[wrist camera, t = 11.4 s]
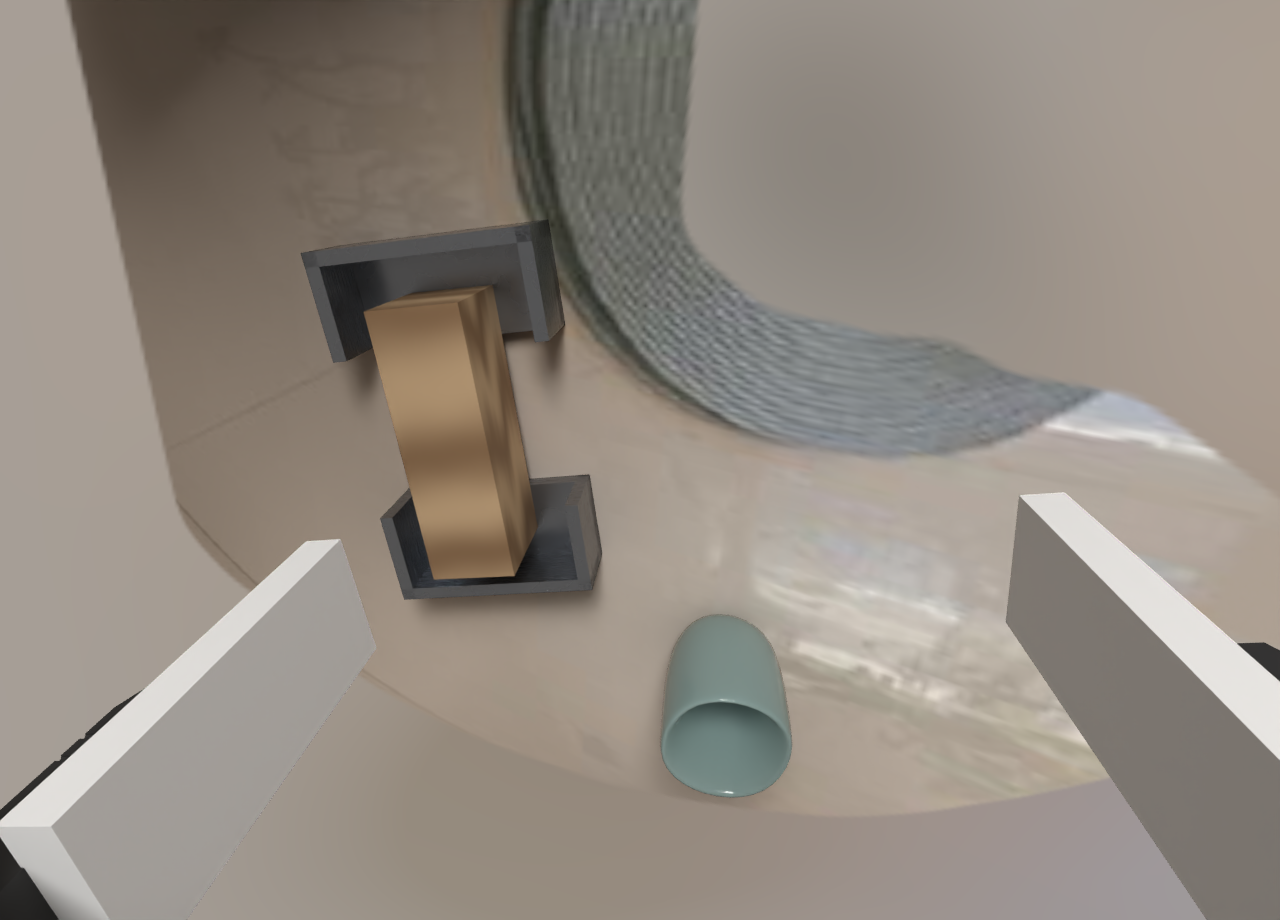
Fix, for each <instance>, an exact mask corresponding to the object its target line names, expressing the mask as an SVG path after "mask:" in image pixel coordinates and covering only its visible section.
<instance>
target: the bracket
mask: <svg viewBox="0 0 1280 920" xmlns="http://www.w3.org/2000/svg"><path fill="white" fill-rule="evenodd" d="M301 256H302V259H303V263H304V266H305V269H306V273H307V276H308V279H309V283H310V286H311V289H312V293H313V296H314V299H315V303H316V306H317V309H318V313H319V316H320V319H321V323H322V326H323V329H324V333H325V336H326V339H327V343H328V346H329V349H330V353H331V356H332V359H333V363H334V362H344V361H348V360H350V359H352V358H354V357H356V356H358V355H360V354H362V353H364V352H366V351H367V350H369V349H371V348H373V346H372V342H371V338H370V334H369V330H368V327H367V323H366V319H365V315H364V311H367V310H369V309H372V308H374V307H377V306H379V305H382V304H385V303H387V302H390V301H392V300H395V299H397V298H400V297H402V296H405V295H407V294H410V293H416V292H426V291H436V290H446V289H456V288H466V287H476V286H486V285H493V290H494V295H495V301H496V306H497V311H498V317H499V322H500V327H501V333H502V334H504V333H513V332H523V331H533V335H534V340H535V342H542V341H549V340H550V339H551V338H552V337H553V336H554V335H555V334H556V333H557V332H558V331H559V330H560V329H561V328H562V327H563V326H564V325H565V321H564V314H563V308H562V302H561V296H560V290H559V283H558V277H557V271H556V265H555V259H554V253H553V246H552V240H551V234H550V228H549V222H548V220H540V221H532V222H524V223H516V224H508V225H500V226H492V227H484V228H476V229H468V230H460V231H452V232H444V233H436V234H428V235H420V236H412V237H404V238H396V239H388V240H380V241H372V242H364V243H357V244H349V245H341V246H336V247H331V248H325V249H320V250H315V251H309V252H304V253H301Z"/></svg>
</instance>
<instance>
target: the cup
mask: <svg viewBox="0 0 1280 920" xmlns="http://www.w3.org/2000/svg"><path fill="white" fill-rule="evenodd" d="M660 747H661V753H662V758H663V761H664V763H665V765H666V767H667V769H668V770H669V771H670V772H671V773H672V775H673V776H674V777H675V778H676V779H678V780H679V781H680V782H682V783H683V784H685V785H687V786H689V787H690V788H692V789H694V790H697V791H700V792H703V793H705V794H710V795H714V796H720V797H744V796H749V795H754V794H756V793H758V792H761V791H763V790H765V789H766V788H768V787H769V786H771V785H772V784H773V783H774V782H775V781H776V780H777V779H778V778H779V777H780V776H781V775H782V773H783V772H784V770H785V769H786V767H787V765H788V762H789V760H790V756H791V750H792V735H791V725H790V717H789V711H788V704H787V698H786V692H785V687H784V682H783V677H782V673H781V669H780V666H779V663H778V660H777V657H776V655H775V652H774V650H773V647H772V645H771V643H770V642H769V641H768V639H767V638H766V637H765V635H764V634H763V633H762V632H761V631H760V630H759V629H758V628H757V627H755V626H754V625H753V624H751V623H749V622H747V621H746V620H743V619H741V618H738V617H734V616H730V615H722V614H717V615H709V616H705V617H702V618H700V619H698V620H696V621H694V622H693V623H692V624H691V625H689V626H688V627H687V628H686V629H685V630H684V632H683V633H682V634H681V636H680V637H679V639H678V641H677V643H676V644H675V647H674V649H673V651H672V655H671V658H670V662H669V665H668V669H667V674H666V680H665V687H664V696H663V708H662V720H661V736H660Z"/></svg>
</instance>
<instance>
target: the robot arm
mask: <svg viewBox="0 0 1280 920" xmlns="http://www.w3.org/2000/svg"><path fill="white" fill-rule="evenodd" d="M1006 623H1007V624H1008V626H1009V627H1010V629H1011V630H1012V632H1013V633H1014V635H1015V636H1016V638H1017V639H1018V641H1019V642H1020V644H1021V645H1022V647H1023V648H1024V650H1025V651H1026V653H1027V654H1028V656H1029V657H1030V659H1031V660H1032V662H1033V663H1034V665H1035V666H1036V667H1037V669H1038V670H1039V672H1040V673H1041V675H1042V676H1043V678H1044V679H1045V681H1046V682H1047V684H1048V685H1049V687H1050V688H1051V690H1052V691H1053V693H1054V694H1055V696H1056V697H1057V699H1058V700H1059V702H1060V703H1061V705H1062V706H1063V708H1064V709H1065V710H1066V712H1067V713H1068V715H1069V716H1070V718H1071V719H1072V721H1073V722H1074V724H1075V725H1076V727H1077V728H1078V730H1079V731H1080V733H1081V734H1082V736H1083V737H1084V739H1085V740H1086V742H1087V743H1088V745H1089V746H1090V748H1091V749H1092V751H1093V752H1094V753H1095V755H1096V756H1097V758H1098V759H1099V761H1100V762H1101V764H1102V765H1103V767H1104V768H1105V770H1106V771H1107V773H1108V774H1109V776H1110V777H1111V779H1112V780H1113V782H1114V783H1115V785H1116V786H1117V788H1118V789H1119V791H1120V792H1121V794H1122V795H1123V796H1124V798H1125V799H1126V801H1127V802H1128V804H1129V805H1130V807H1131V808H1132V809H1133V811H1134V813H1135V814H1136V816H1137V817H1138V819H1139V820H1140V822H1141V823H1142V825H1143V826H1144V828H1145V829H1146V831H1147V832H1148V833H1149V835H1150V837H1151V838H1152V839H1153V841H1154V842H1155V844H1156V845H1157V847H1158V848H1159V850H1160V851H1161V853H1162V854H1163V856H1164V857H1165V859H1166V860H1167V862H1168V863H1169V865H1170V866H1171V868H1172V869H1173V871H1174V872H1175V874H1176V875H1177V877H1178V878H1179V879H1180V881H1181V882H1182V884H1183V885H1184V887H1185V888H1186V890H1187V891H1188V893H1189V894H1190V896H1191V897H1192V899H1193V900H1194V902H1195V903H1196V905H1197V906H1198V908H1199V909H1200V911H1201V912H1202V914H1203V915H1204V917H1205V918H1206V919H1207V920H1280V650H1278V649H1276V648H1274V647H1272V646H1270V645H1268V644H1266V643H1238V644H1236V643H1235V642H1234V641H1233V640H1232V639H1231V638H1230V637H1229V636H1227V635H1226V634H1225V633H1224V632H1223V631H1222V630H1221V629H1219V628H1218V627H1217V626H1216V625H1215V624H1214V623H1213V622H1211V621H1210V620H1209V619H1208V618H1207V617H1206V616H1205V615H1203V614H1202V613H1201V612H1200V611H1199V610H1198V609H1197V608H1196V607H1194V606H1193V605H1192V604H1191V603H1190V602H1189V601H1188V600H1186V599H1185V598H1184V597H1183V596H1182V595H1181V594H1180V593H1178V592H1177V591H1176V590H1175V589H1174V588H1173V587H1172V586H1170V585H1169V584H1168V583H1167V582H1166V581H1165V580H1164V579H1163V578H1161V577H1160V576H1159V575H1158V574H1157V573H1156V572H1155V571H1153V570H1152V569H1151V568H1150V567H1149V566H1148V565H1147V564H1145V563H1144V562H1143V561H1142V560H1141V559H1140V558H1139V557H1138V556H1136V555H1135V554H1134V553H1133V552H1132V551H1131V550H1130V549H1128V548H1127V547H1126V546H1125V545H1124V544H1123V543H1122V542H1120V541H1119V540H1118V539H1117V538H1116V537H1115V536H1114V535H1112V534H1111V533H1110V532H1109V531H1108V530H1107V529H1106V528H1105V527H1103V526H1102V525H1101V524H1100V523H1099V522H1098V521H1097V520H1095V519H1094V518H1093V517H1092V516H1091V515H1090V514H1089V513H1087V512H1086V511H1085V510H1084V509H1083V508H1082V507H1081V506H1079V505H1078V504H1077V503H1076V502H1075V501H1074V500H1073V499H1072V498H1070V497H1069V496H1068V495H1067V494H1066V493H1065V492H1064V493H1048V494H1033V495H1019V501H1018V511H1017V520H1016V530H1015V540H1014V549H1013V559H1012V568H1011V578H1010V587H1009V597H1008V606H1007V616H1006ZM375 650H376V645H375V642H374V639H373V636H372V633H371V630H370V627H369V624H368V621H367V618H366V615H365V612H364V609H363V606H362V603H361V600H360V596H359V593H358V590H357V587H356V584H355V581H354V578H353V575H352V572H351V569H350V566H349V563H348V560H347V557H346V554H345V551H344V548H343V545H342V542H341V539H334V540H318V541H306V542H305V543H304V544H303V545H302V546H300V547H299V548H298V549H297V550H296V551H295V552H294V553H293V554H292V555H291V556H290V557H288V558H287V559H286V560H285V561H284V562H283V563H282V564H281V565H280V566H279V567H277V568H276V569H275V570H274V571H273V572H272V573H271V574H270V575H269V576H268V577H266V578H265V579H264V580H263V581H262V582H261V583H260V584H259V585H258V586H257V587H256V588H254V589H253V590H252V591H251V592H250V593H249V594H248V595H247V596H246V597H245V598H243V599H242V600H241V601H240V602H239V603H238V604H237V605H236V606H235V607H234V608H233V609H231V610H230V611H229V612H228V613H227V614H226V615H225V616H224V617H223V618H222V619H221V620H219V621H218V622H217V623H216V624H215V625H214V626H213V627H212V628H211V629H209V630H208V631H207V633H205V634H204V635H203V636H202V637H201V638H200V639H199V640H198V641H196V642H195V643H194V644H193V645H192V646H191V647H190V648H189V649H188V650H186V651H185V652H184V653H183V654H182V655H181V656H180V657H179V658H178V659H177V660H176V661H174V662H173V663H172V664H171V665H170V666H169V667H168V668H167V669H166V670H165V671H164V672H162V673H161V674H160V675H159V676H158V677H157V678H156V679H155V680H154V681H153V682H152V683H150V684H149V685H148V686H147V687H146V688H145V689H143V690H141V691H140V692H139V693H137V694H135V695H133V696H132V697H130V698H129V699H127V700H126V701H124V702H123V703H121V704H119V705H118V706H116V707H115V708H113V709H112V710H111V711H110V712H109V713H108V714H107V715H106V716H104V717H103V718H102V719H101V720H100V721H99V722H98V723H97V724H96V725H95V726H93V727H92V728H91V729H90V730H89V731H88V732H87V733H86V736H85V738H84V739H79V740H78V741H77V742H75V744H74V745H72V746H71V747H70V748H69V749H68V750H67V751H66V752H64V753H63V754H62V755H61V760H60V761H54V762H53V763H52V764H51V765H50V766H49V767H48V768H46V769H45V770H44V771H43V772H42V773H41V774H40V775H39V776H38V777H36V778H35V779H34V780H33V781H32V782H31V783H30V784H29V785H28V786H26V787H25V788H24V789H23V790H22V791H21V792H20V793H19V794H18V795H16V796H15V797H14V798H13V799H12V800H11V801H10V802H9V803H8V804H7V805H5V806H4V807H3V808H2V809H1V810H0V920H187V919H188V917H189V916H190V915H191V913H192V912H193V910H194V909H195V907H196V906H197V904H198V903H199V902H200V900H201V899H202V897H203V896H204V894H205V893H206V892H207V890H208V889H209V887H210V886H211V884H212V883H213V882H214V880H215V879H216V877H217V876H218V874H219V873H220V872H221V870H222V869H223V867H224V866H225V864H226V863H227V862H228V860H229V858H230V857H231V856H232V854H233V853H234V852H235V850H236V849H237V847H238V846H239V844H240V843H241V841H242V840H243V839H244V837H245V836H246V834H247V833H248V831H249V830H250V829H251V827H252V826H253V824H254V823H255V821H256V820H257V819H258V817H259V816H260V814H261V813H262V811H263V810H264V809H265V807H266V806H267V804H268V803H269V801H270V799H272V797H273V796H274V794H275V793H276V791H277V790H278V788H279V787H280V786H281V784H282V783H283V781H284V780H285V778H286V777H287V775H288V774H289V773H290V771H291V770H292V768H293V767H294V766H295V764H296V763H297V761H298V760H299V758H300V757H301V755H302V754H303V752H304V751H305V750H306V748H307V747H308V745H309V744H310V743H311V741H312V740H313V738H314V737H315V736H316V734H317V732H318V731H319V730H320V728H321V727H322V725H323V724H324V722H325V721H326V720H327V718H328V717H329V715H330V714H331V712H332V711H333V710H334V708H335V707H336V705H337V704H338V703H339V701H340V700H341V698H342V697H343V695H344V694H345V692H346V691H347V690H348V688H349V687H350V685H351V684H352V682H353V681H354V679H355V678H356V677H357V675H358V674H359V673H360V671H361V670H362V668H363V667H364V665H365V664H366V663H367V661H368V660H369V658H370V657H371V655H372V654H373V652H374V651H375Z"/></svg>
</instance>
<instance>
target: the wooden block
mask: <svg viewBox="0 0 1280 920" xmlns="http://www.w3.org/2000/svg"><path fill="white" fill-rule="evenodd" d="M364 315H365V319H366V323H367V327H368V330H369V334H370V338H371V342H372V346H373V349H374V353H375V357H376V361H377V365H378V369H379V372H380V376H381V380H382V384H383V388H384V391H385V395H386V399H387V403H388V407H389V410H390V414H391V418H392V422H393V426H394V430H395V433H396V437H397V441H398V445H399V449H400V452H401V456H402V460H403V464H404V468H405V472H406V475H407V479H408V483H409V487H410V491H411V494H412V498H413V502H414V506H415V510H416V513H417V517H418V521H419V525H420V529H421V533H422V536H423V540H424V544H425V548H426V552H427V555H428V559H429V563H430V567H431V571H432V575H433V578H434V580H435V579H457V578H480V577H503V576H515V574H516V572H517V570H518V568H519V565H520V563H521V561H522V559H523V557H524V555H525V553H526V551H527V549H528V547H529V545H530V543H531V540H532V538H533V536H534V534H535V532H536V530H537V528H538V525H537V520H536V515H535V509H534V504H533V499H532V493H531V488H530V483H529V477H528V472H527V467H526V461H525V456H524V450H523V445H522V440H521V434H520V429H519V424H518V418H517V413H516V408H515V402H514V397H513V392H512V386H511V381H510V376H509V370H508V365H507V359H506V354H505V349H504V343H503V338H502V333H501V327H500V322H499V317H498V311H497V306H496V301H495V295H494V290H493V285H486V286H476V287H466V288H456V289H446V290H436V291H426V292H416V293H410V294H407V295H405V296H402V297H400V298H397V299H395V300H392V301H390V302H387V303H385V304H382V305H379V306H377V307H374V308H372V309H369V310H367V311H364Z"/></svg>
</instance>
